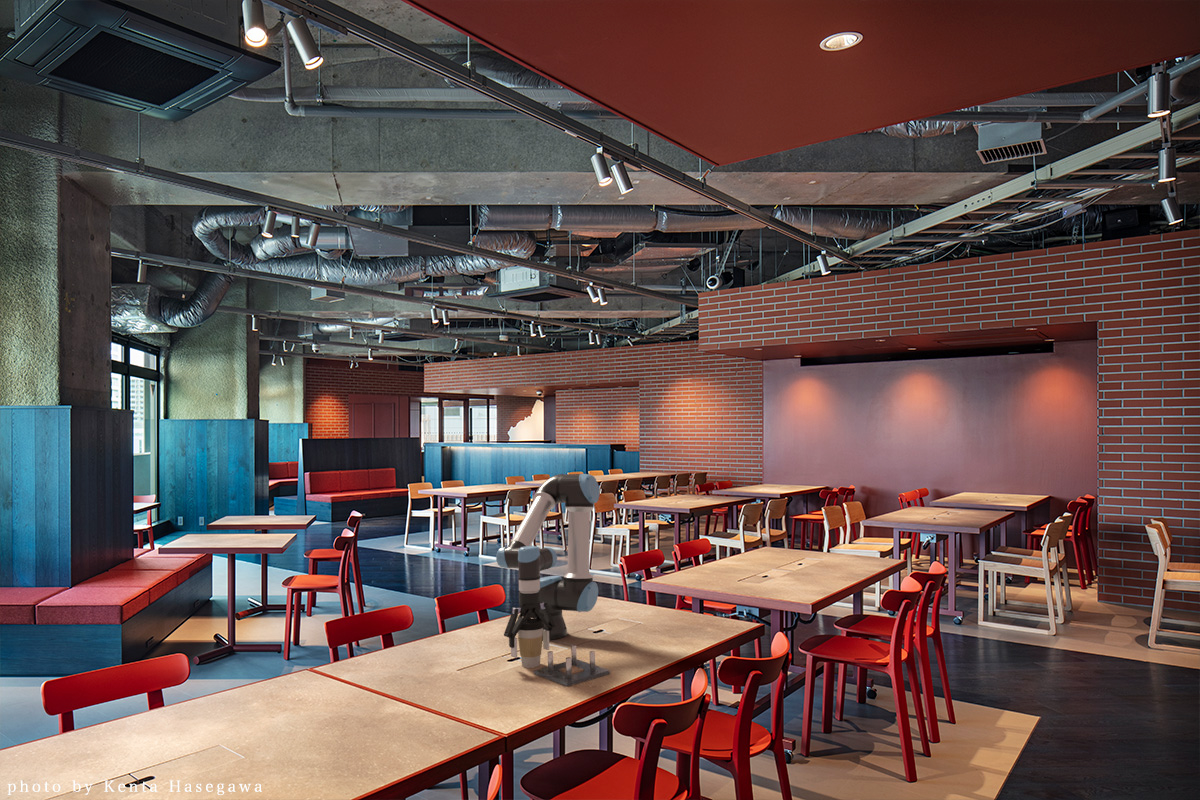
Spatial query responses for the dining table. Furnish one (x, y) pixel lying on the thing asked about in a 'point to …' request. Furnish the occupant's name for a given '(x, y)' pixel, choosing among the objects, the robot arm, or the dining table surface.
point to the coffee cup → (530, 642)
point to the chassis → (571, 669)
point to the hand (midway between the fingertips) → (530, 653)
